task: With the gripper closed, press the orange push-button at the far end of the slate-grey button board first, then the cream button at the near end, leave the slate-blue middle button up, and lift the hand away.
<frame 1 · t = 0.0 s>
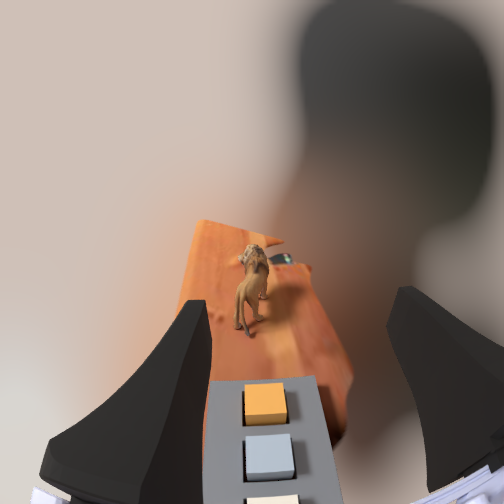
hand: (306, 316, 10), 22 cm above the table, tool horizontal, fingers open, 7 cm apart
lion figurine: (250, 308, 47), on the table
slate-blue button: (268, 458, 21), point 2 cm above the table, slide at 0.0 cm
button board: (268, 467, 22), on the table
orange button: (264, 405, 27), point 2 cm above the table, slide at 0.0 cm
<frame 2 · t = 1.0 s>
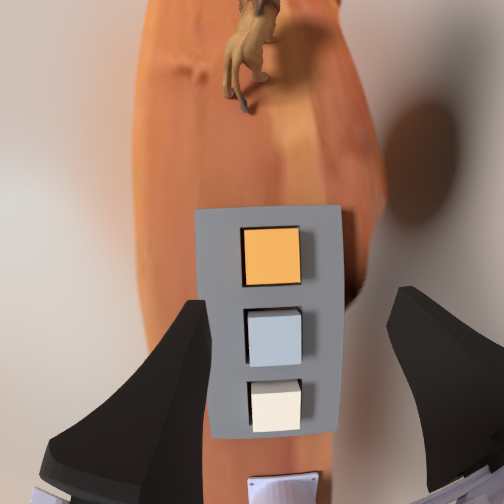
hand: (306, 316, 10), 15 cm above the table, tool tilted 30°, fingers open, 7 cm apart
lion figurine: (248, 56, 25), on the table
slate-blue button: (274, 337, 22), point 2 cm above the table, slide at 0.0 cm
cream button: (275, 405, 22), point 2 cm above the table, slide at 0.0 cm
button board: (272, 329, 25), on the table
orange button: (271, 256, 23), point 2 cm above the table, slide at 0.0 cm
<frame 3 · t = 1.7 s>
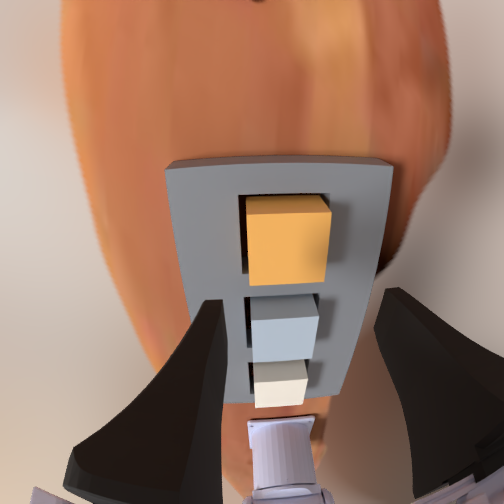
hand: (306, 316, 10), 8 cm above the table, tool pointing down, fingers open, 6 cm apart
slate-blue button: (282, 327, 19), point 2 cm above the table, slide at 0.0 cm
cream button: (278, 382, 22), point 2 cm above the table, slide at 0.0 cm
button board: (278, 303, 21), on the table
orange button: (285, 239, 15), point 2 cm above the table, slide at 0.0 cm
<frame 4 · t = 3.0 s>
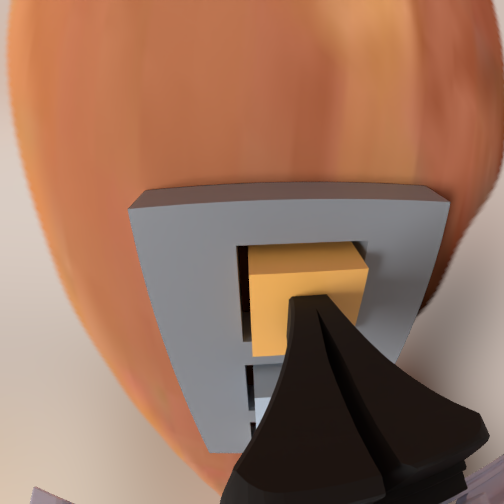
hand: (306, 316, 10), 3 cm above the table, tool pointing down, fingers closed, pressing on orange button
slate-blue button: (292, 394, 14), point 2 cm above the table, slide at 0.0 cm
button board: (287, 360, 16), on the table
orange button: (301, 296, 11), point 2 cm above the table, slide at 0.5 cm, touching gripper
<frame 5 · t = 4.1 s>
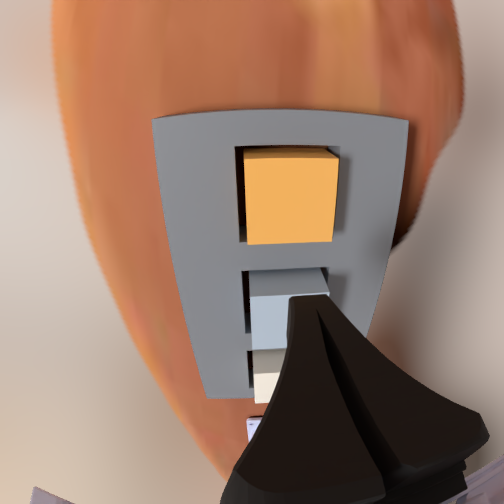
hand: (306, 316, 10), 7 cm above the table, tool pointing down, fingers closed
slate-blue button: (285, 308, 16), point 2 cm above the table, slide at 0.0 cm
cream button: (281, 374, 19), point 2 cm above the table, slide at 0.0 cm
button board: (281, 282, 18), on the table
orange button: (287, 193, 13), point 2 cm above the table, slide at 0.7 cm
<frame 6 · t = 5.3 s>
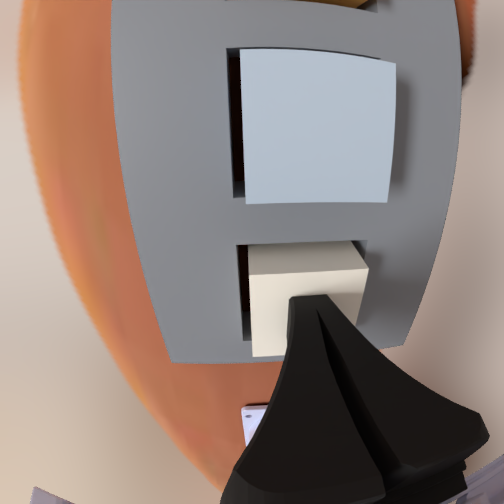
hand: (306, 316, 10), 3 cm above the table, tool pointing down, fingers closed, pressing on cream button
slate-blue button: (312, 123, 8), point 2 cm above the table, slide at 0.0 cm
cream button: (301, 296, 11), point 2 cm above the table, slide at 0.4 cm, touching gripper
button board: (297, 118, 10), on the table
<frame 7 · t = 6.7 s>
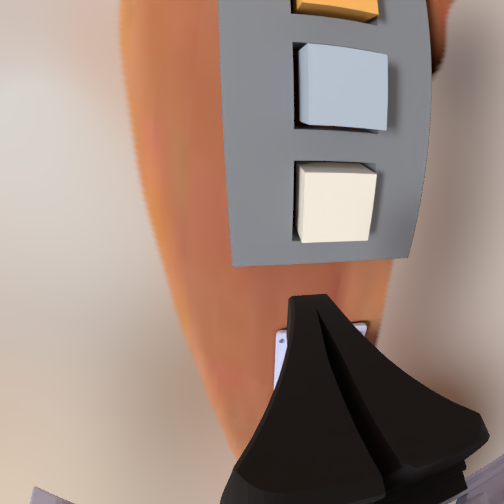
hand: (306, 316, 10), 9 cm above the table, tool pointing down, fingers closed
slate-blue button: (341, 87, 12), point 2 cm above the table, slide at 0.0 cm
cream button: (333, 200, 16), point 2 cm above the table, slide at 0.7 cm
button board: (328, 88, 14), on the table
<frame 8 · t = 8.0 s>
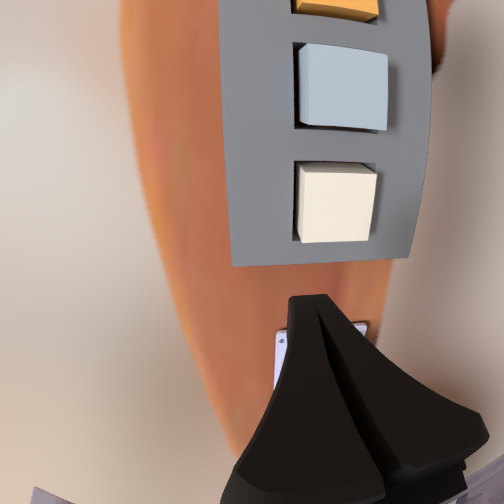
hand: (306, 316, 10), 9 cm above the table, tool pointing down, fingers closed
slate-blue button: (341, 87, 12), point 2 cm above the table, slide at 0.0 cm
cream button: (333, 200, 16), point 2 cm above the table, slide at 0.7 cm
button board: (328, 88, 14), on the table
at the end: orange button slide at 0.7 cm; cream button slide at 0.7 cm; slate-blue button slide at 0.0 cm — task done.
